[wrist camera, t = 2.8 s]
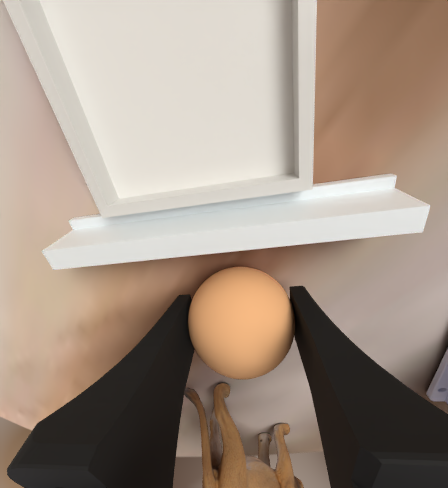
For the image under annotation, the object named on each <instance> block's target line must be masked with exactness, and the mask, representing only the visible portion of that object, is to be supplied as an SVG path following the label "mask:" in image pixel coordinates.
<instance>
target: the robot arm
mask: <svg viewBox="0 0 448 488" xmlns="http://www.w3.org/2000/svg"><path fill="white" fill-rule="evenodd" d="M290 301H291V304H292V307H293V310H294V316H295V333H294V336H295V340H296V343H297V346H298V350H299V353H300V356H301V360H302V363H303V366H304V369H305V373H306V376H307V379H308V382H309V386H310V390H311V394H312V398H313V403H314V407H315V412H316V417H317V421H318V426H319V431H320V436H321V441H322V445H323V450H324V455H325V460H326V465H327V470H328V475H329V481H330V485H331V488H448V414H447V413H445V412H443V411H442V410H440V409H439V408H437V407H436V406H434V405H433V404H431V403H430V402H428V401H427V400H425V399H424V398H422V397H421V396H419V395H418V394H417V393H415V392H414V391H412V390H411V389H410V388H408V387H407V386H405V385H404V384H403V383H402V382H400V381H399V380H398V379H396V378H395V377H394V376H392V375H391V374H390V373H388V372H387V371H386V370H385V369H383V368H382V367H381V366H379V365H378V364H377V363H376V362H375V361H373V360H372V359H371V358H370V357H369V356H367V355H366V354H365V353H364V352H363V351H362V350H361V349H360V348H358V347H357V346H356V345H355V344H354V343H353V342H352V341H351V340H350V339H349V338H348V337H347V336H346V335H345V334H344V333H343V332H342V331H341V330H340V329H339V328H338V327H337V326H336V325H335V324H334V323H333V322H332V321H331V320H330V319H329V317H328V316H327V315H326V314H325V313H324V312H323V311H322V309H321V308H320V307H319V306H318V305H317V303H316V302H315V301H314V300H313V298H312V297H311V296H310V294H309V293H308V291H307V290H306V289H305V287H303V286H294V287H290ZM191 302H192V299H191V296H190V295H179V296H178V297H177V298H176V299H175V301H174V302H173V303H172V304H171V306H170V307H169V308H168V310H167V311H166V312H165V313H164V315H163V316H162V317H161V318H160V319H159V321H158V322H157V323H156V324H155V325H154V327H153V328H152V329H151V330H150V331H149V332H148V333H147V335H146V336H145V337H144V338H143V339H142V340H141V341H140V342H139V343H138V344H137V346H136V347H135V348H134V349H133V350H132V351H131V352H129V353H128V354H127V355H126V356H125V357H124V358H123V359H122V360H121V361H120V362H119V363H118V364H117V365H115V366H114V367H113V368H112V369H111V370H110V371H108V372H107V373H106V374H105V375H104V376H103V377H101V378H100V379H99V380H98V381H97V382H95V383H94V384H93V385H91V386H90V387H89V388H88V389H86V390H85V391H84V392H82V393H81V394H80V395H78V396H77V397H76V398H74V399H73V400H71V401H70V402H69V403H67V404H66V405H64V406H63V407H61V408H60V409H58V410H57V411H55V412H54V413H52V414H51V415H49V416H48V417H46V418H45V419H43V420H42V421H40V422H39V423H37V425H36V426H35V428H34V429H33V431H32V432H31V434H30V435H29V437H28V438H27V440H26V441H25V443H24V444H23V446H22V447H21V449H20V450H19V452H18V453H17V455H16V456H15V458H14V459H13V461H12V462H11V464H10V465H9V467H8V468H7V475H8V476H9V478H10V479H12V480H13V481H14V482H16V483H17V484H19V485H21V486H22V487H24V488H173V477H174V466H175V458H176V449H177V440H178V432H179V425H180V417H181V410H182V403H183V397H184V391H185V386H186V382H187V378H188V374H189V370H190V366H191V362H192V357H193V353H194V349H195V348H194V346H193V344H192V341H191V338H190V335H189V329H188V315H189V309H190V305H191ZM427 396H428V397H429V399H430V400H432V401H445V402H446V403H447V404H448V349H447V351H446V353H445V355H444V357H443V359H442V361H441V363H440V365H439V368H438V370H437V372H436V374H435V376H434V378H433V380H432V382H431V384H430V386H429V389H428V391H427Z"/></svg>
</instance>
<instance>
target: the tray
mask: <svg viewBox="0 0 448 488" xmlns="http://www.w3.org/2000/svg"><path fill="white" fill-rule="evenodd" d="M3 2H4V4H5V6H6V8H7V11H8V13H9V15H10V17H11V19H12V22H13V24H14V26H15V28H16V30H17V33H18V35H19V37H20V39H21V41H22V43H23V46H24V48H25V50H26V52H27V54H28V57H29V59H30V61H31V63H32V65H33V68H34V70H35V72H36V74H37V76H38V78H39V81H40V83H41V85H42V87H43V89H44V92H45V94H46V96H47V98H48V100H49V103H50V105H51V107H52V109H53V111H54V113H55V116H56V118H57V120H58V122H59V124H60V127H61V129H62V131H63V133H64V135H65V138H66V140H67V142H68V144H69V146H70V148H71V151H72V153H73V155H74V157H75V159H76V162H77V164H78V166H79V168H80V170H81V173H82V175H83V177H84V179H85V181H86V183H87V186H88V188H89V190H90V192H91V194H92V197H93V199H94V201H95V203H96V205H97V208H98V210H99V212H100V214H101V216H102V218H106V217H114V216H121V215H128V214H136V213H143V212H150V211H158V210H165V209H172V208H180V207H187V206H195V205H202V204H209V203H217V202H224V201H231V200H239V199H246V198H253V197H261V196H268V195H275V194H283V193H290V192H298V191H305V190H312V189H313V148H314V103H315V58H316V14H317V0H3Z"/></svg>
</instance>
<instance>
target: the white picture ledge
mask: <svg viewBox="0 0 448 488" xmlns="http://www.w3.org/2000/svg"><path fill="white" fill-rule="evenodd" d="M396 177H397V176H396V175H394V174H384V175H377V176H369V177H362V178H355V179H348V180H341V181H333V182H326V183H319V184H313V189H312V190H305V191H298V192H290V193H283V194H275V195H268V196H261V197H253V198H246V199H239V200H231V201H224V202H217V203H209V204H202V205H195V206H187V207H180V208H172V209H165V210H158V211H150V212H143V213H136V214H128V215H121V216H114V217H106V218H102V216H101V214H96V215H89V216H82V217H74V218H72V219H71V220H69V223H70V225H71V226H72V228H73V230H72V231H71V232H69V233H68V234H66V235H65V236H63V237H62V238H60V239H59V240H57V241H56V242H54V243H53V244H51V245H50V246H48V247H47V248H45V249H44V250H42V253H43V254H44V256H45V257H46V259H47V260H48V262H49V264H50V265H51V267H52V268H53V270H58V269H67V268H77V267H87V266H96V265H106V264H116V263H126V262H135V261H145V260H155V259H165V258H174V257H184V256H194V255H204V254H213V253H223V252H233V251H243V250H252V249H262V248H272V247H282V246H291V245H301V244H311V243H321V242H330V241H340V240H350V239H359V238H369V237H379V236H389V235H398V234H408V233H418V232H423V230H424V227H425V223H426V220H427V216H428V213H429V209H430V206H431V205H429V204H427V203H425V202H423V201H420V200H418V199H416V198H414V197H412V196H410V195H408V194H406V193H404V192H402V191H400V190H398V189H396V188H394V187H395V182H396Z"/></svg>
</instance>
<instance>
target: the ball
mask: <svg viewBox="0 0 448 488" xmlns="http://www.w3.org/2000/svg"><path fill="white" fill-rule="evenodd" d="M188 329H189V335H190V338H191V341H192V344H193V346H194V348H195V350H196V352H197V354H198V355H199V357H200V358H201V359H202V360H203V362H204V363H205V364H206V365H208V366H209V367H210V368H211V369H212V370H214V371H215V372H217V373H219V374H221V375H224V376H226V377H229V378H233V379H252V378H256V377H259V376H262V375H265V374H267V373H268V372H270V371H271V370H273V369H274V368H276V367H277V366H278V365H279V364H280V363H281V362H282V360H283V359H284V358H285V356H286V355H287V353H288V351H289V349H290V347H291V345H292V342H293V338H294V333H295V316H294V310H293V307H292V304H291V301H290V299H289V297H288V295H287V293H286V292H285V290H284V289H283V288H282V286H281V285H280V284H279V283H278V282H277V281H276V280H275V279H273V278H272V277H271V276H269V275H268V274H266V273H264V272H262V271H260V270H257V269H254V268H250V267H231V268H227V269H223V270H221V271H218V272H217V273H215V274H213V275H212V276H210V277H209V278H208V279H207V280H206V281H204V282H203V284H202V285H201V286H200V287H199V288H198V290H197V292H196V293H195V295H194V297H193V299H192V302H191V305H190V309H189V315H188Z"/></svg>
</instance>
